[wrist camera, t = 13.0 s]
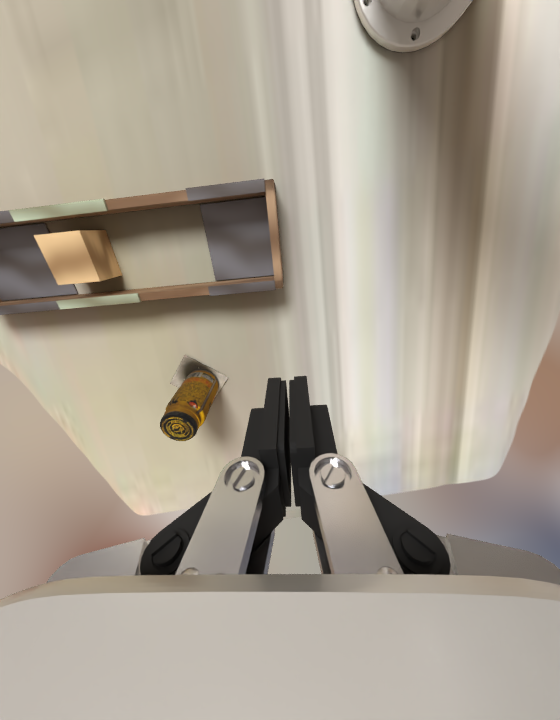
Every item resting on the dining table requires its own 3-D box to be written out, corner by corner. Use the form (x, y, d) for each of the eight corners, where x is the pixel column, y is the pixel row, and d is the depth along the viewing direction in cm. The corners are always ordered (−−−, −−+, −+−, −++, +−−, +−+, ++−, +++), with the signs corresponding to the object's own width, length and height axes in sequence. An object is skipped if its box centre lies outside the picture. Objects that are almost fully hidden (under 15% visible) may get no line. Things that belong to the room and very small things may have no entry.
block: (65, 234, 35) (33, 235, 30) (106, 230, 34) (79, 230, 30) (85, 278, 38) (58, 285, 33) (122, 275, 37) (100, 281, 33)
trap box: (-52, 223, 35) (-95, 223, 31) (274, 183, 31) (272, 177, 27) (1, 309, 40) (-29, 317, 36) (283, 282, 37) (282, 289, 33)
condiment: (211, 403, 48) (189, 452, 37) (170, 382, 46) (134, 428, 36) (228, 376, 45) (210, 422, 34) (185, 353, 43) (151, 394, 33)
